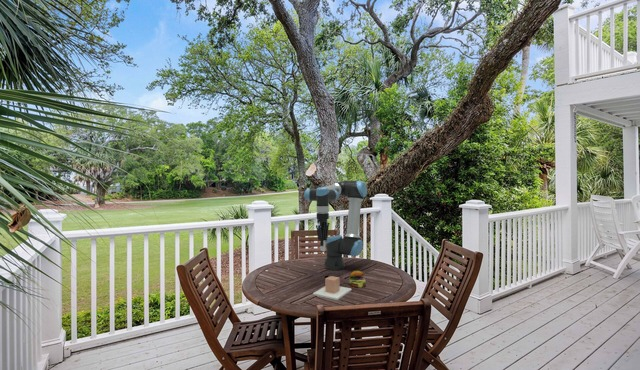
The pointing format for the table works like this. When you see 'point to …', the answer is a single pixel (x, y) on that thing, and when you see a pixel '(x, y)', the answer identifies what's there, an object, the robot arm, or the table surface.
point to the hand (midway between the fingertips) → (322, 250)
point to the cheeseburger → (357, 279)
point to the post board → (335, 296)
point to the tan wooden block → (332, 284)
